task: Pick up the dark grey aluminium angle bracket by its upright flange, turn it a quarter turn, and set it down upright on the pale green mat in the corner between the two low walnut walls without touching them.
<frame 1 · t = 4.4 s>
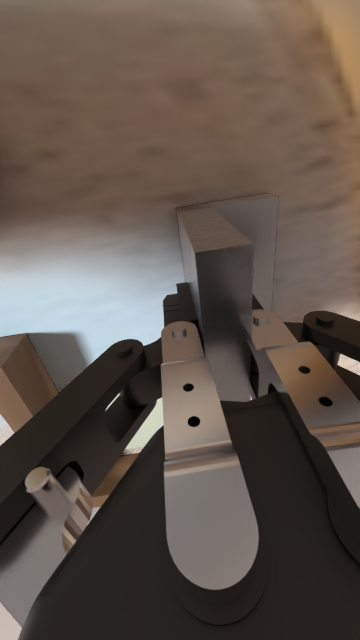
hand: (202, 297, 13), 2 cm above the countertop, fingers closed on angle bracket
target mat: (164, 408, 20), on the countertop
angle bracket: (225, 277, 15), on the countertop, touching gripper
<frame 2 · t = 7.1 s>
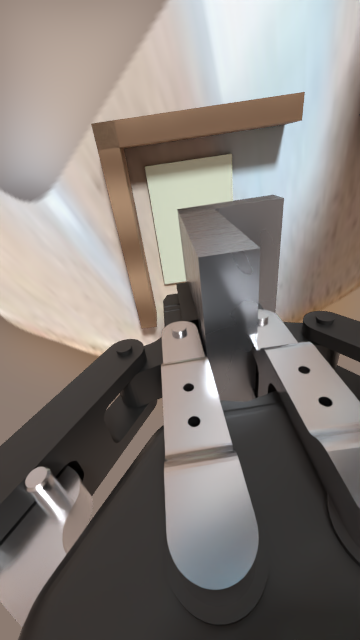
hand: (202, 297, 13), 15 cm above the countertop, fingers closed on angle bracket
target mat: (193, 225, 26), on the countertop
angle bracket: (227, 281, 14), point 13 cm above the countertop, touching gripper
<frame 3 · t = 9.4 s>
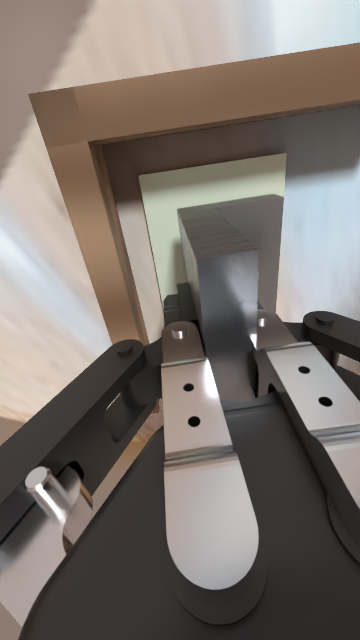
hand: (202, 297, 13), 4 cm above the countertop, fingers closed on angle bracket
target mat: (217, 265, 16), on the countertop
angle bracket: (227, 280, 14), point 2 cm above the countertop, touching gripper
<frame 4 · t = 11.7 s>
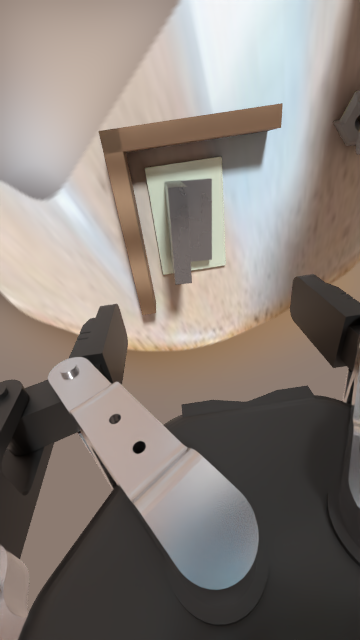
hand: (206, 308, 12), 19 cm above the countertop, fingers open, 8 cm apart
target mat: (188, 220, 29), on the countertop
angle bracket: (188, 221, 28), resting on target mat
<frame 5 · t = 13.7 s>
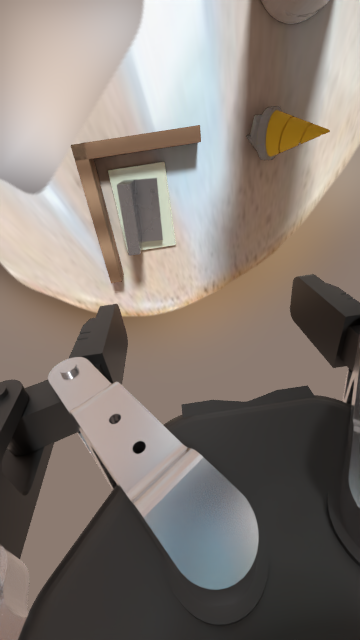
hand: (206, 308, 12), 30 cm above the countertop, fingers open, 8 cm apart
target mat: (144, 210, 38), on the countertop
yellow spiral cone: (270, 131, 34), on the countertop
angle bracket: (144, 210, 37), resting on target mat
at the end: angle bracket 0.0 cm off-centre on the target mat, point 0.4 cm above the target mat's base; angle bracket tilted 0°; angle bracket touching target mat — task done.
